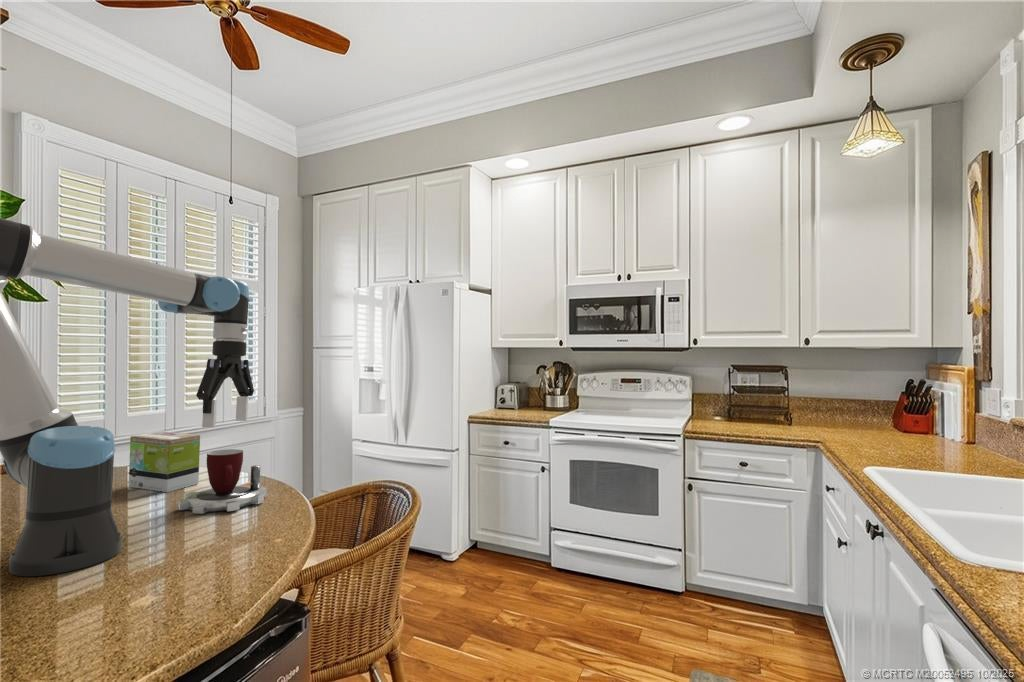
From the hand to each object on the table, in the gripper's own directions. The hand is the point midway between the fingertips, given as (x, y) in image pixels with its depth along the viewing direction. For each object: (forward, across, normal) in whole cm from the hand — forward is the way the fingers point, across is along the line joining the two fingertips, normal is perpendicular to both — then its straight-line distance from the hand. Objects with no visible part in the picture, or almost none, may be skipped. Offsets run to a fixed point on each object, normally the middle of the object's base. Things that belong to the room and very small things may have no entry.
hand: (225, 423), depth 124 cm
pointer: (+20, +12, 0) cm, 23 cm away
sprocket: (+20, 0, 0) cm, 20 cm away
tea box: (+20, +16, +27) cm, 37 cm away
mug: (+18, +1, 0) cm, 18 cm away
